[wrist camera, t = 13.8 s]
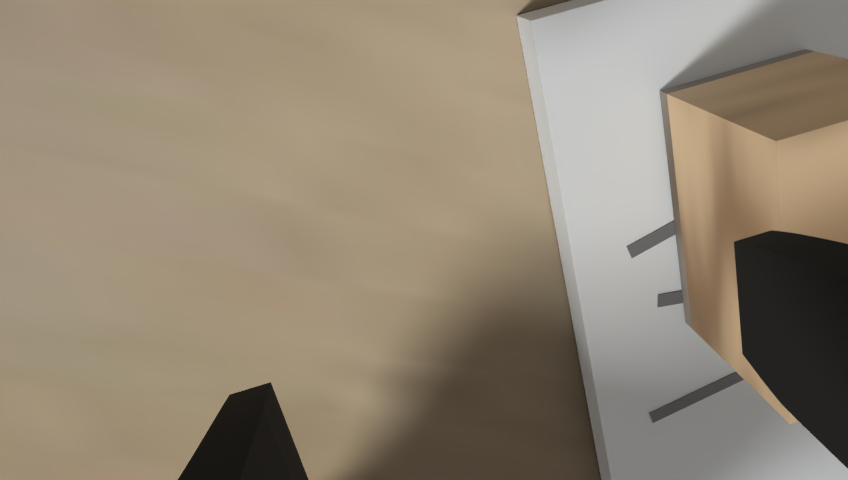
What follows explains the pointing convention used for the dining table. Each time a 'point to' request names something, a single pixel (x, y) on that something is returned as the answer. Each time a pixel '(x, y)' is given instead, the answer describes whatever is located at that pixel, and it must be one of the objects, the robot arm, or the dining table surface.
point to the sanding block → (753, 178)
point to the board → (655, 228)
